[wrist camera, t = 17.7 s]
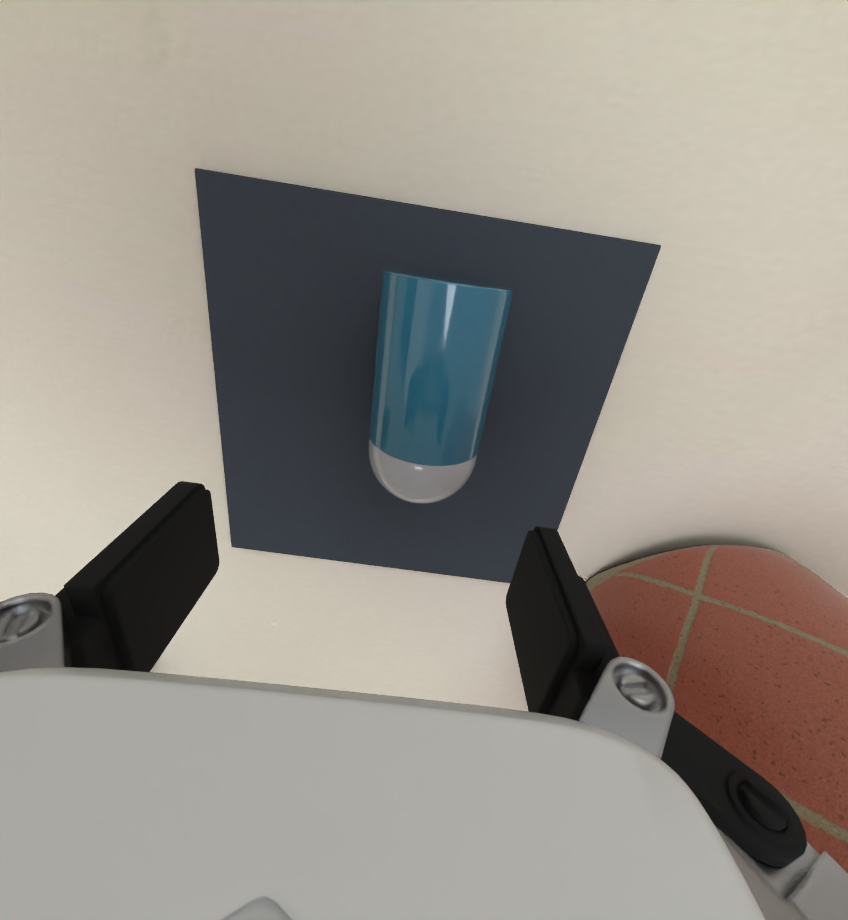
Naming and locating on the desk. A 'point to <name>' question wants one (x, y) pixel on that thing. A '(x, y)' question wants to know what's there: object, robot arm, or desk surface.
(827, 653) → the planter
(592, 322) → the slate mat
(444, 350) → the blue domed cylinder
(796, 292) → the desk surface
